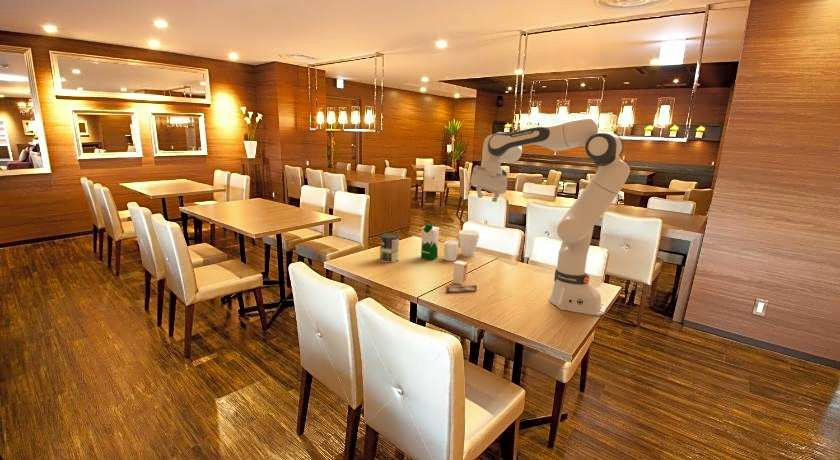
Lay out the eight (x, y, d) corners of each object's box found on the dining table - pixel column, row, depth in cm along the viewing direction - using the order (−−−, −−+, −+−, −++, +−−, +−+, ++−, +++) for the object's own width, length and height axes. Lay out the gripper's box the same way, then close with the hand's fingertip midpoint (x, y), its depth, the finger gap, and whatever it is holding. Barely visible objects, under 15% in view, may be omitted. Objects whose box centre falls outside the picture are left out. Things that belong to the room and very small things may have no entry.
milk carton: (418, 258, 219) (419, 224, 215) (426, 254, 227) (428, 221, 222) (431, 261, 215) (433, 226, 210) (439, 257, 222) (441, 223, 218)
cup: (465, 258, 222) (466, 235, 219) (453, 252, 232) (454, 230, 229) (482, 256, 228) (483, 233, 225) (470, 250, 238) (471, 229, 235)
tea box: (452, 282, 184) (454, 262, 182) (456, 280, 187) (457, 260, 185) (462, 284, 181) (463, 264, 179) (466, 282, 185) (467, 262, 182)
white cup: (456, 262, 215) (457, 244, 213) (442, 260, 216) (443, 243, 214) (458, 258, 222) (459, 241, 220) (444, 256, 224) (445, 240, 222)
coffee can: (382, 263, 208) (382, 238, 205) (378, 257, 218) (378, 233, 214) (400, 262, 211) (401, 237, 208) (396, 256, 221) (396, 232, 218)
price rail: (475, 289, 176) (475, 284, 176) (476, 291, 175) (476, 286, 174) (446, 291, 173) (446, 286, 172) (447, 292, 171) (447, 287, 171)
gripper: (479, 163, 168) (475, 194, 166) (510, 174, 179) (507, 203, 178) (469, 165, 173) (465, 195, 171) (499, 176, 184) (497, 204, 183)
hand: (487, 199), depth 175 cm, fingers open, 8 cm apart
